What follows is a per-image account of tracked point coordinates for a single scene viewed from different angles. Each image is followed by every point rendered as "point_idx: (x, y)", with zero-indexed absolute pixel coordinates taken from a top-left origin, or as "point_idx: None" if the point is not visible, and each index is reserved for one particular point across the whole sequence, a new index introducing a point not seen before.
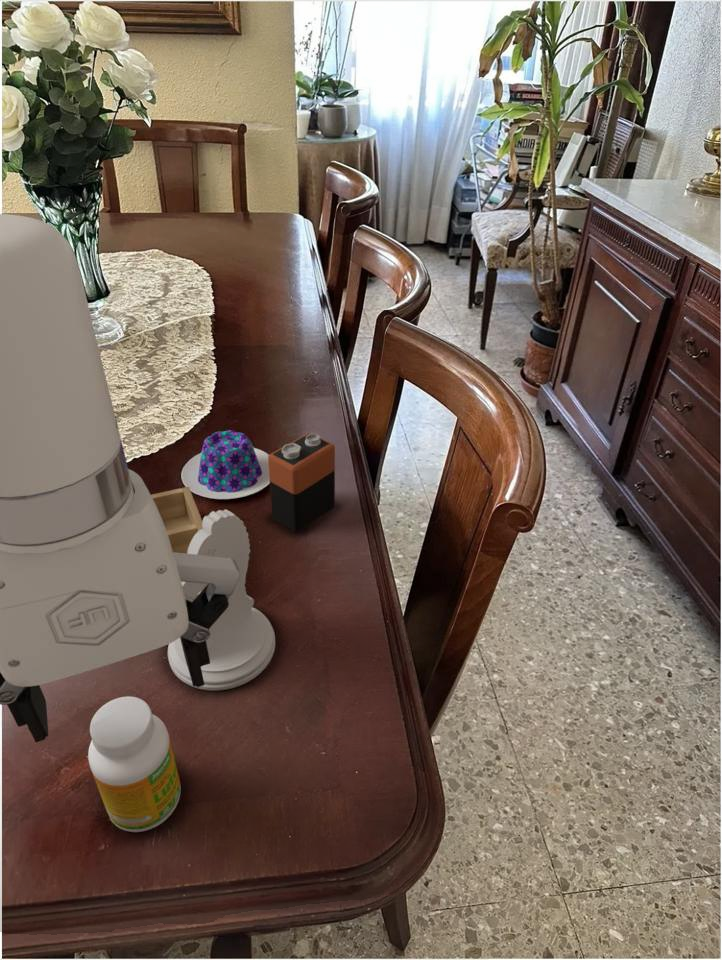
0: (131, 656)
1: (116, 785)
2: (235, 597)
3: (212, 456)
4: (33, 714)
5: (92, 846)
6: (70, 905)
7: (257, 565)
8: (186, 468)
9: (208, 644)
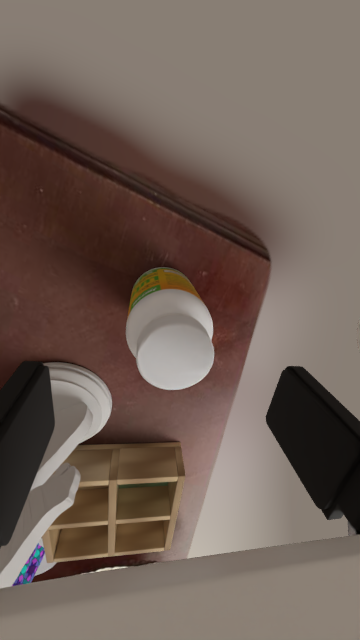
0: (140, 599)
1: (194, 295)
2: None
3: None
4: (332, 413)
5: (211, 277)
6: (238, 239)
7: None
8: (52, 563)
9: (68, 410)
